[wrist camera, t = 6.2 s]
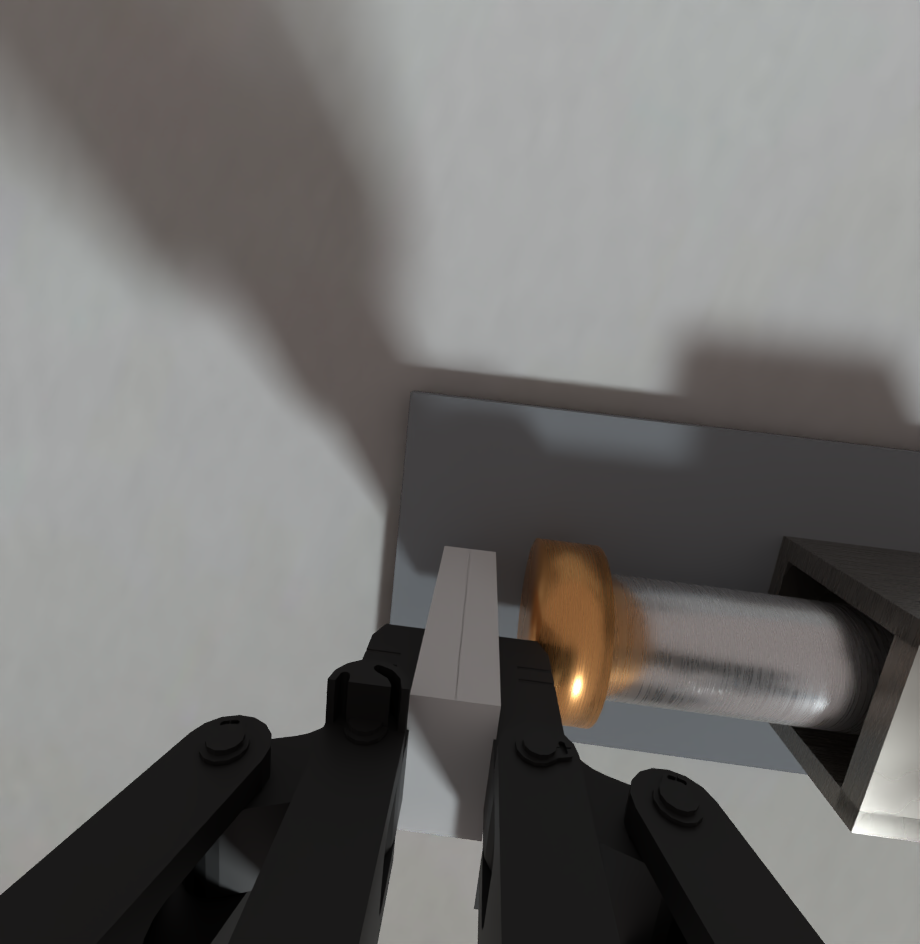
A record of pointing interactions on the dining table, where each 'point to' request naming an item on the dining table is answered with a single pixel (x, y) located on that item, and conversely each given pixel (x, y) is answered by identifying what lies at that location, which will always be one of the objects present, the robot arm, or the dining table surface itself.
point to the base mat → (637, 522)
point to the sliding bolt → (695, 645)
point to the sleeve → (896, 696)
